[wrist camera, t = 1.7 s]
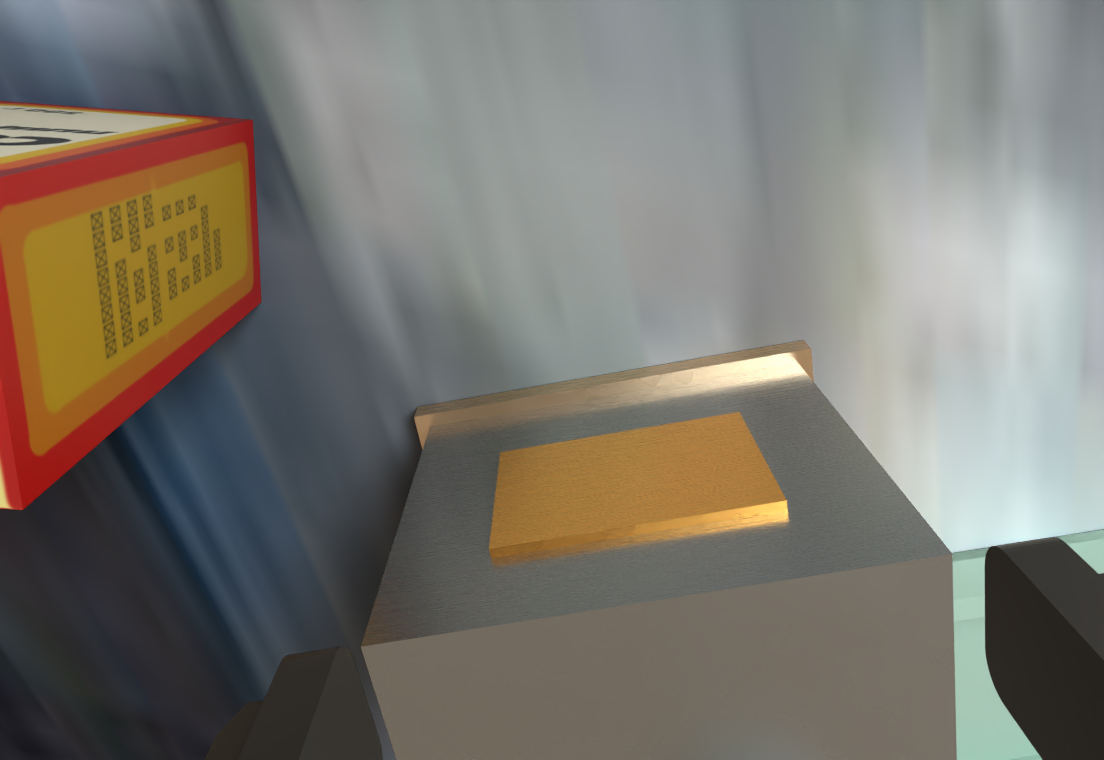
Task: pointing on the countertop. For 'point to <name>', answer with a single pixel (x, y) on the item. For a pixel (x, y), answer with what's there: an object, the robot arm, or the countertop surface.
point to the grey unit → (662, 578)
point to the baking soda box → (111, 270)
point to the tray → (981, 718)
